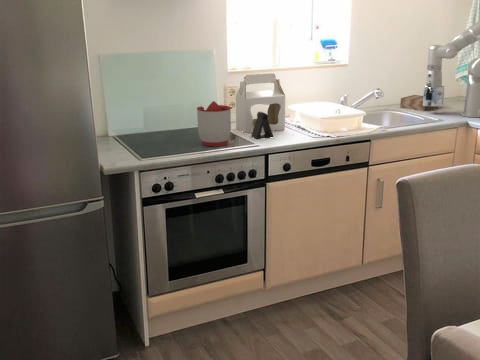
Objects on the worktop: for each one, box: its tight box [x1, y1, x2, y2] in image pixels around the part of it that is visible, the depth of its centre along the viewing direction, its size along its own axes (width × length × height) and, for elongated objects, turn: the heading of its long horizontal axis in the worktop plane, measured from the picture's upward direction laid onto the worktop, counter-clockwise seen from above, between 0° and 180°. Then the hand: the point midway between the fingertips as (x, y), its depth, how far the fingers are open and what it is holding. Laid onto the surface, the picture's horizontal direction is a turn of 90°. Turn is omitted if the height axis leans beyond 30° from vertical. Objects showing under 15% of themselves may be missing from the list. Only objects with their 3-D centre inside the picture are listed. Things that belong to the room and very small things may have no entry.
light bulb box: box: [422, 85, 445, 107], centre depth 315 cm, size 11×7×11 cm, turn 66°
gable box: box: [235, 73, 286, 134], centre depth 282 cm, size 22×13×28 cm, turn 112°
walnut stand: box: [399, 94, 439, 112], centre depth 336 cm, size 16×16×6 cm
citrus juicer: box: [196, 100, 232, 147], centre depth 254 cm, size 16×17×20 cm
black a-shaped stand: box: [251, 111, 274, 140], centre depth 267 cm, size 9×6×12 cm, turn 112°
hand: (432, 98), depth 316 cm, fingers closed on light bulb box, 8 cm apart
